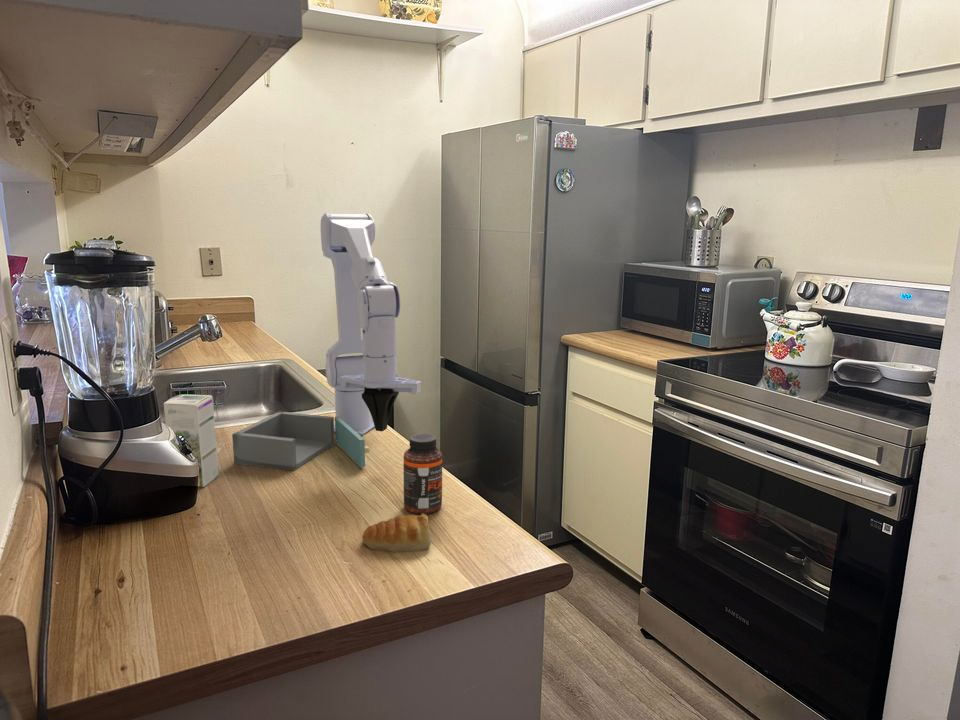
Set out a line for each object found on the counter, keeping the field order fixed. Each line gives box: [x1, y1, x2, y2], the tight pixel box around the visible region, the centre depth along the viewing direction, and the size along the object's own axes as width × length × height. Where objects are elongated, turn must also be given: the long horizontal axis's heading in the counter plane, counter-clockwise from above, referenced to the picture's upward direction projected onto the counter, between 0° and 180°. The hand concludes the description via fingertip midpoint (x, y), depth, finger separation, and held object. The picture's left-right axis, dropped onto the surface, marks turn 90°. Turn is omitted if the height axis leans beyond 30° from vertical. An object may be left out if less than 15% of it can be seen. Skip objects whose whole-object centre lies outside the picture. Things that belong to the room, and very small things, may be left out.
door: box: [334, 416, 370, 468], centre depth 126 cm, size 15×2×5 cm, turn 29°
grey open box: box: [231, 411, 336, 472], centre depth 127 cm, size 15×12×6 cm
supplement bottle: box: [403, 433, 443, 515], centre depth 103 cm, size 6×6×11 cm
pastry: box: [361, 513, 432, 553], centre depth 93 cm, size 9×7×4 cm
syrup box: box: [163, 393, 220, 488], centre depth 112 cm, size 6×6×14 cm
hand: (381, 429), depth 120 cm, fingers closed
